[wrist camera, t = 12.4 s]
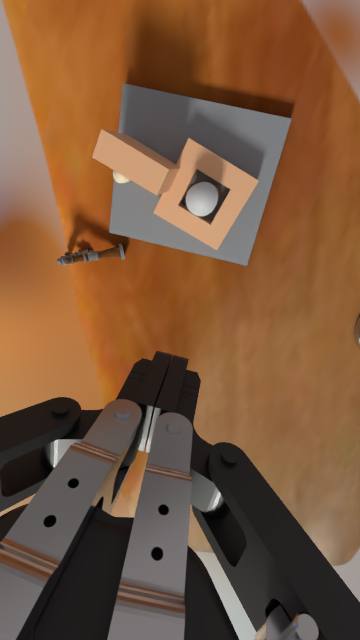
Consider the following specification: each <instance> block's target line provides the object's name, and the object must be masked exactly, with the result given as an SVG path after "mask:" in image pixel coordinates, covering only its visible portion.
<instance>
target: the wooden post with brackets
mask: <svg viewBox="0 0 360 640" xmlns="http://www.w3.org/2000/svg"><path fill="white" fill-rule="evenodd" d="M118 245H119V246H117V247H114V248H111V249H107V250H104V251H99V252H97V251H94V252H93V251H92V250H89V251H88V248H87V249H85V250H80V249H79V251H78V253H76V252H75V254H73V253H70V252H66V253H65V256H61V259H60V258H59V259H57V263H58V264H63V265H67V264H74V262H81V261H85V262H87V261H88V260H89V262H90V261H93V260H99V259H100V258H108V257H121V259H125V257H124V251H123V246H122V243H118ZM71 254H73V255H71ZM74 255H75V256H74Z"/></svg>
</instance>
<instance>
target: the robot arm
mask: <svg viewBox="0 0 360 640" xmlns="http://www.w3.org/2000/svg"><path fill="white" fill-rule="evenodd" d="M354 335H355V341H356V343H357V345H358V347H359V348H360V316H359V318H358V320H357V322H356V325H355V330H354ZM171 359H172V360H171ZM188 360H189V359H187V358H183V357H179V356H176V355H173V358H172V354H168V353H164V352H160V351H156V353H155V356H154V358H153V360H152V361H151V360H147V359H143V358H142V359H141V360H139V361H138V362H136V363H135V364H134V366H133V368H132V370H131V372H130V374H129V375H128V378H127V379H126V381H125V383H124V385H123V387H122V389H121V391H120V392H119V394H118V396H117V398H116V400H114V401H111V402H110V403H108V404H107V405H106V406H105V408H104V409H100V410H81V407H80V405H79V403H78V402H77V401H75V400H73V399H71V398H67V397H58V398H54V399H51V400H48V401H45V402H42V403H39V404H36V405H34V406H31V407H28V408H25V409H22V410H19V411H16V412H14V413H11V414H8V415H5V416H2V417H0V512H1V511H3V510H5V509H7V508H9V507H11V506H12V505H14V504H16V503H18V502H20V501H22V500H24V499H26V498H28V497H30V496H32V495H33V494H35V493H36V494H35V496H34V497H33V498H32V500H31V501H30V503H29V504H26V505H23V506H20V507H18V508H16V509H13V510H11V511H9V512H8V513H6V514H4V515H2V516H1V517H0V640H239V638H238V636H237V634H236V632H235V630H234V627H233V625H232V623H231V621H230V619H229V617H228V614H227V612H226V610H225V608H224V606H223V603H222V601H221V599H220V597H219V595H218V593H217V591H216V589H215V586H214V584H213V582H212V579H211V577H210V575H209V573H208V571H207V569H206V567H205V566H204V564H203V562H202V561H201V559H200V558H199V557H198V556H197V554H196V553H195V552H194V551H193V550H192V549H191V548H190V547H189V546H188V533H189V518H190V504H192V510H193V513H194V515H195V517H196V519H197V521H198V523H199V525H200V527H201V528H202V530H203V532H204V534H205V536H206V538H207V540H208V542H209V543H210V545H211V547H212V549H213V551H214V553H215V555H216V556H217V559H218V560H219V562H220V564H221V566H222V568H223V570H224V572H225V574H226V576H227V577H228V579H229V581H230V583H231V585H232V587H233V589H234V591H235V592H236V594H237V596H238V598H239V600H240V602H241V604H242V605H243V608H244V609H245V611H246V613H247V615H248V617H249V619H250V621H251V623H252V625H253V626H254V628H255V630H256V632H257V633H256V635H255V638H254V640H360V602H359V601H358V600H357V598H356V597H355V596H354V595H353V594H352V592H351V591H350V589H349V588H348V587H347V586H346V584H345V583H344V581H343V580H342V579H341V578H340V576H339V575H338V574H337V572H336V571H335V570H334V569H333V567H332V566H331V565H330V563H329V562H328V561H327V559H326V558H325V557H324V555H323V554H322V553H321V552H320V550H319V549H318V548H317V546H316V545H315V544H314V543H313V541H312V540H311V539H310V537H309V536H308V535H307V533H306V532H305V531H304V530H303V528H302V527H301V526H300V524H299V523H298V522H297V520H296V519H295V518H294V517H293V515H292V514H291V513H290V511H289V510H288V509H287V507H286V506H285V505H284V504H283V502H282V501H281V500H280V498H279V497H278V496H277V494H276V493H275V492H274V491H273V489H272V488H271V487H270V485H269V484H268V483H267V481H266V480H265V479H264V478H263V476H262V475H261V474H260V472H259V471H258V470H257V468H256V467H255V466H254V465H253V463H252V462H251V461H250V459H249V458H248V457H247V455H246V454H245V453H244V452H243V451H242V450H241V449H240V448H239V447H237V446H235V445H233V444H231V443H226V442H221V443H217V444H215V445H211V444H209V443H207V442H206V441H204V440H203V439H202V438H200V437H199V435H198V434H197V433H196V431H195V429H194V426H193V420H194V415H195V409H196V404H197V399H198V393H199V388H200V382H201V380H200V378H199V375H198V373H197V372H193V371H189V370H186V368H187V364H188ZM147 441H148V443H147ZM146 444H147V448H146V452H148V453H149V454H148V459H147V463H146V467H145V472H144V476H143V481H142V485H141V490H140V494H139V499H138V503H137V508H136V512H135V517H134V518H127V517H113V516H111V515H110V514H111V512H112V510H113V507H114V505H115V503H116V501H117V498H118V496H119V494H120V492H121V490H122V488H123V485H124V483H125V481H126V479H127V477H128V474H129V472H130V470H131V468H132V464H133V461H134V460H135V457H136V454H137V452H138V450H140V451H144V450H145V447H146Z"/></svg>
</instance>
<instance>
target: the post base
mask: <svg viewBox="0 0 360 640" xmlns="http://www.w3.org/2000/svg"><path fill="white" fill-rule="evenodd" d="M290 122H291V118H286V117H281V116H277V115H272V114H267V113H262V112H258V111H253V110H248V109H243V108H239V107H234V106H229V105H224V104H220V103H215V102H210V101H205V100H201V99H196V98H191V97H186V96H182V95H177V94H172V93H167V92H163V91H158V90H153V89H148V88H144V87H139V86H134V85H130V84H125V83H123V89H122V100H121V110H120V121H119V132H118V133H120V134H124V135H128V136H130V137H132V138H134V139H135V140H137V141H138V142H140V143H142V144H143V145H145V146H147V147H148V148H150V149H152V150H153V151H155V152H157V153H158V154H160V155H162V156H163V157H165V158H167V159H168V160H170V161H172V162H173V163H175V164H177V162H178V160H179V157H180V155H181V153H182V151H183V149H184V147H185V145H186V143H187V140H188V138H190V139H192V140H194V141H195V142H197V143H199V144H200V145H202V146H203V147H205V148H207V149H208V150H210V151H212V152H213V153H215V154H216V155H218V156H220V157H221V158H223V159H225V160H226V161H228V162H229V163H231V164H233V165H234V166H236V167H238V168H239V169H241V170H242V171H244V172H246V173H247V174H249V175H251V176H252V177H254V178H255V179H257V180H259V182H258V183H257V185H256V187H255V188H254V190H253V192H252V193H251V195H250V197H249V198H248V200H247V202H246V203H245V205H244V207H243V208H242V210H241V212H240V213H239V215H238V216H237V218H236V220H235V221H234V223H233V225H232V226H231V228H230V230H229V231H228V233H227V235H226V236H225V238H224V240H223V241H222V243H221V245H220V246H219V248H218V249H217V250H215V249H214V248H212V247H210V246H209V245H207V244H205V243H203V242H202V241H200V240H198V239H197V238H195V237H193V236H192V235H190V234H188V233H186V232H185V231H183V230H181V229H180V228H178V227H176V226H175V225H173V224H171V223H169V222H168V221H166V220H164V219H163V218H161V217H159V216H158V215H156V214H154V210H155V208H156V206H157V204H158V202H159V200H160V198H161V196H162V194H160V195H155V194H153V193H152V192H150V191H148V190H147V189H145V188H143V187H141V186H140V185H138V184H136V183H135V182H133V181H131V180H130V179H128V178H126V177H125V176H123V175H121V174H120V173H118V172H116V171H115V170H114V171H113V177H114V186H113V197H112V207H111V218H110V229H109V233H113V234H117V235H122V236H126V237H130V238H134V239H138V240H142V241H146V242H151V243H155V244H159V245H163V246H167V247H171V248H175V249H180V250H184V251H188V252H192V253H196V254H200V255H204V256H208V257H213V258H217V259H221V260H225V261H229V262H233V263H237V264H242V265H246V266H247V264H248V260H249V257H250V254H251V251H252V247H253V244H254V241H255V237H256V234H257V231H258V228H259V224H260V221H261V218H262V214H263V211H264V208H265V205H266V201H267V198H268V195H269V191H270V188H271V185H272V182H273V178H274V175H275V172H276V168H277V165H278V162H279V159H280V155H281V152H282V149H283V145H284V142H285V139H286V136H287V132H288V129H289V126H290ZM229 191H230V189H229V188H227V187H226V186H224V185H222V184H221V183H219V182H218V181H216V180H214V179H213V178H211V177H209V176H208V175H206V174H204V173H203V172H201V171H199V170H198V171H197V173H196V175H195V177H194V179H193V181H192V183H191V185H190V187H189V189H188V191H187V193H186V195H185V197H184V199H183V201H182V203H181V204H183V205H185V206H186V207H187V208H188V209H189V211H190V212H191V213H192V214H194V215H196V216H203V217H205V218H206V219H208V220H210V221H211V222H212V221H213V219H214V218H215V216H216V214H217V212H218V211H219V209H220V207H221V205H222V204H223V202H224V200H225V198H226V196H227V195H228V193H229Z"/></svg>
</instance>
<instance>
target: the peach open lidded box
mask: <svg viewBox="0 0 360 640" xmlns="http://www.w3.org/2000/svg"><path fill="white" fill-rule="evenodd" d="M92 157H93V158H94V159H96V160H98V161H99V162H101V163H103V164H104V165H106V166H108V167H110V168H111V169H113V170H115V171H116V172H118V173H120V174H121V175H123V176H125V177H126V178H128V179H130V180H131V181H133V182H135V183H136V184H138V185H140V186H141V187H143V188H145V189H147V190H148V191H150V192H152V193H153V194H155V195H160V194H162V196H161V198H160V200H159V202H158V204H157V206H156V208H155V210H154V214H156V215H158V216H159V217H161V218H163V219H164V220H166V221H168V222H169V223H171V224H173V225H175V226H176V227H178V228H180V229H181V230H183V231H185V232H186V233H188V234H190V235H192V236H193V237H195V238H197V239H198V240H200V241H202V242H203V243H205V244H207V245H209V246H210V247H212V248H214V249H215V250H217V249H218V248H219V246H220V245H221V243H222V241H223V240H224V238H225V236H226V235H227V233H228V231H229V230H230V228H231V226H232V225H233V223H234V221H235V220H236V218H237V216H238V215H239V213H240V212H241V210H242V208H243V207H244V205H245V203H246V202H247V200H248V198H249V197H250V195H251V193H252V192H253V190H254V188H255V187H256V185H257V183H258V182H259V180H257V179H255V178H254V177H252V176H251V175H249V174H247V173H246V172H244V171H242V170H241V169H239V168H238V167H236V166H234V165H233V164H231V163H229V162H228V161H226V160H225V159H223V158H221V157H220V156H218V155H216V154H215V153H213V152H212V151H210V150H208V149H207V148H205V147H203V146H202V145H200V144H199V143H197V142H195V141H194V140H192V139H190V138H188V140H187V143H186V145H185V147H184V149H183V151H182V153H181V155H180V157H179V160H178V162H177V164H175V163H173V162H172V161H170V160H168V159H167V158H165V157H163V156H162V155H160V154H158V153H157V152H155V151H153V150H152V149H150V148H148V147H147V146H145V145H143V144H142V143H140V142H138V141H137V140H135V139H134V138H132V137H130V136H128V135H124V134H120V133H116V132H112V131H108V130H104V129H102V130H101V133H100V135H99V138H98V141H97V144H96V147H95V150H94V153H93V156H92ZM198 170H199V171H201V172H203V173H204V174H206V175H208V176H209V177H211V178H213V179H214V180H216V181H218V182H219V183H221V184H222V185H224V186H226V187H227V188H229V189H230V191H229V193H228V195H227V196H226V198H225V200H224V202H223V204H222V205H221V207H220V209H219V211H218V212H217V214H216V216H215V218H214V219H213V221H212V222H211V221H210V220H208V219H206V218H205V217H203V216H196V215H194V214H192V213H191V212H190V211H189V209H188V208H187V207H186V206H185V205H183V204H181V203H182V201H183V199H184V197H185V195H186V193H187V191H188V189H189V187H190V185H191V183H192V181H193V179H194V177H195V175H196V173H197V171H198Z"/></svg>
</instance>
